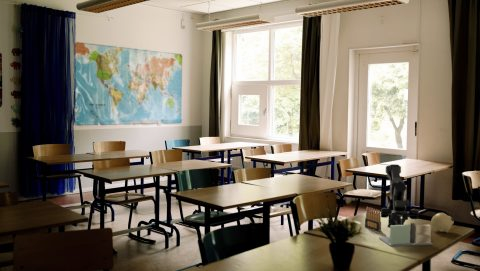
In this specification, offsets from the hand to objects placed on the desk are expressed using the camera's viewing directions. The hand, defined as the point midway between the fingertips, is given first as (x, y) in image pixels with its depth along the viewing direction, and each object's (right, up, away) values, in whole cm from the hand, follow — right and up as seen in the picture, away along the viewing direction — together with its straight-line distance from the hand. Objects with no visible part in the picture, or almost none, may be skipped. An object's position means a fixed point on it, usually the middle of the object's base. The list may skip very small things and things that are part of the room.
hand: (400, 227), depth 243 cm
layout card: (+2, -7, -2) cm, 7 cm away
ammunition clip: (-8, -5, +21) cm, 23 cm away
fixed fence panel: (+8, -6, -6) cm, 12 cm away
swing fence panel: (-3, -6, -8) cm, 11 cm away
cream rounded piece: (+28, -5, +16) cm, 33 cm away
